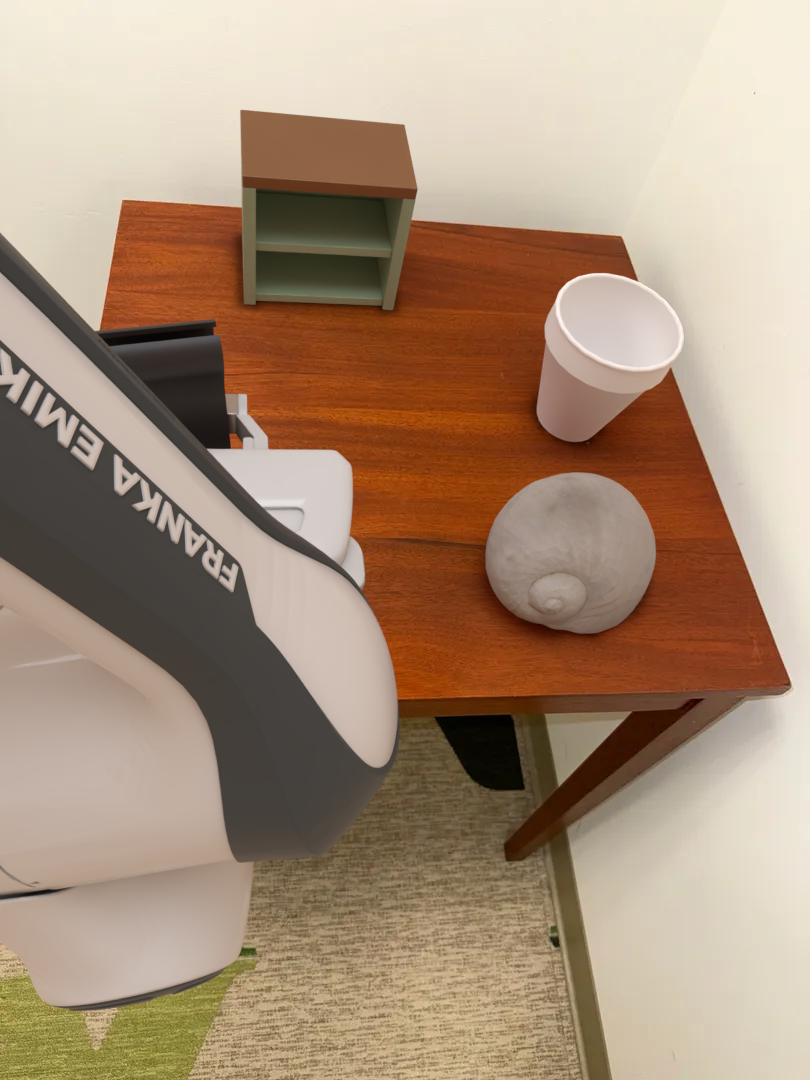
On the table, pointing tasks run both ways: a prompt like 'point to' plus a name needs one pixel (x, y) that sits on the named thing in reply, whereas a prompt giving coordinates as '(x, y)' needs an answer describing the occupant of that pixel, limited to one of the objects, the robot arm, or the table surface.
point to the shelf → (324, 208)
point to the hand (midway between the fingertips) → (168, 398)
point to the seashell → (571, 553)
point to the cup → (603, 352)
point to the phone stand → (180, 372)
